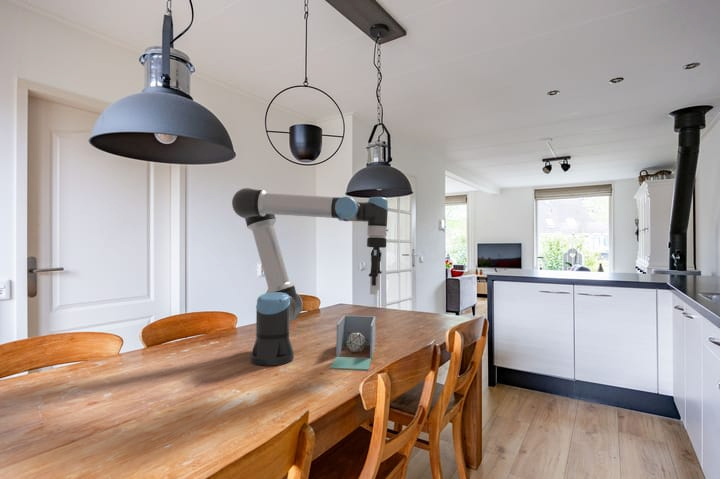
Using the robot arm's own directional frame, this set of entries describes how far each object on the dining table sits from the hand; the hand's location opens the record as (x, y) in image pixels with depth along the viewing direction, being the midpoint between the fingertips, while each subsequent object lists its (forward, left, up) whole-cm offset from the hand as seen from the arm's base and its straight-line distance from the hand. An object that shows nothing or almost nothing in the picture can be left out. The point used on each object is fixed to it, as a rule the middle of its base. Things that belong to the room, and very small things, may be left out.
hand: (374, 292), depth 144 cm
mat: (-7, -14, -24) cm, 28 cm away
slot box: (-7, +2, -24) cm, 25 cm away
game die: (-7, 0, -24) cm, 25 cm away
